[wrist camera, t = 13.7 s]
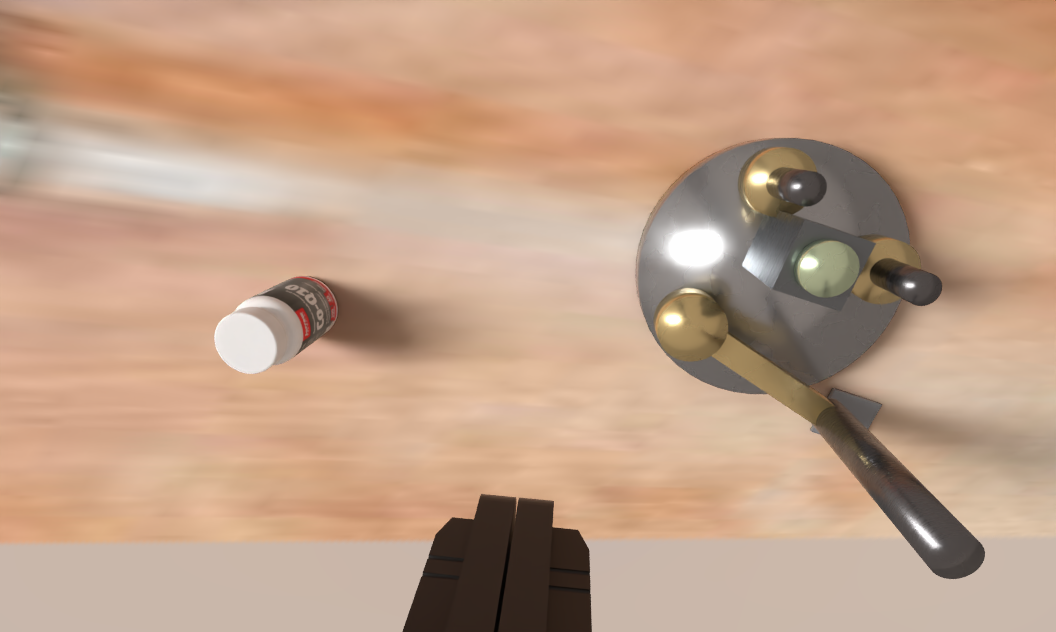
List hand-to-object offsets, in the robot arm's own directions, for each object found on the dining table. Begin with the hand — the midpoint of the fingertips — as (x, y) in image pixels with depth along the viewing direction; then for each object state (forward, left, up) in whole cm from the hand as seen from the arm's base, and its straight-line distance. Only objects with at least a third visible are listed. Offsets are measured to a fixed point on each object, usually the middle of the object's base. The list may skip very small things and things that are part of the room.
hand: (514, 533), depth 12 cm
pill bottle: (+10, -17, -30) cm, 35 cm away
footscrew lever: (+3, +15, -27) cm, 31 cm away
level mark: (+5, +24, -29) cm, 38 cm away
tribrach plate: (-3, +14, -29) cm, 32 cm away
